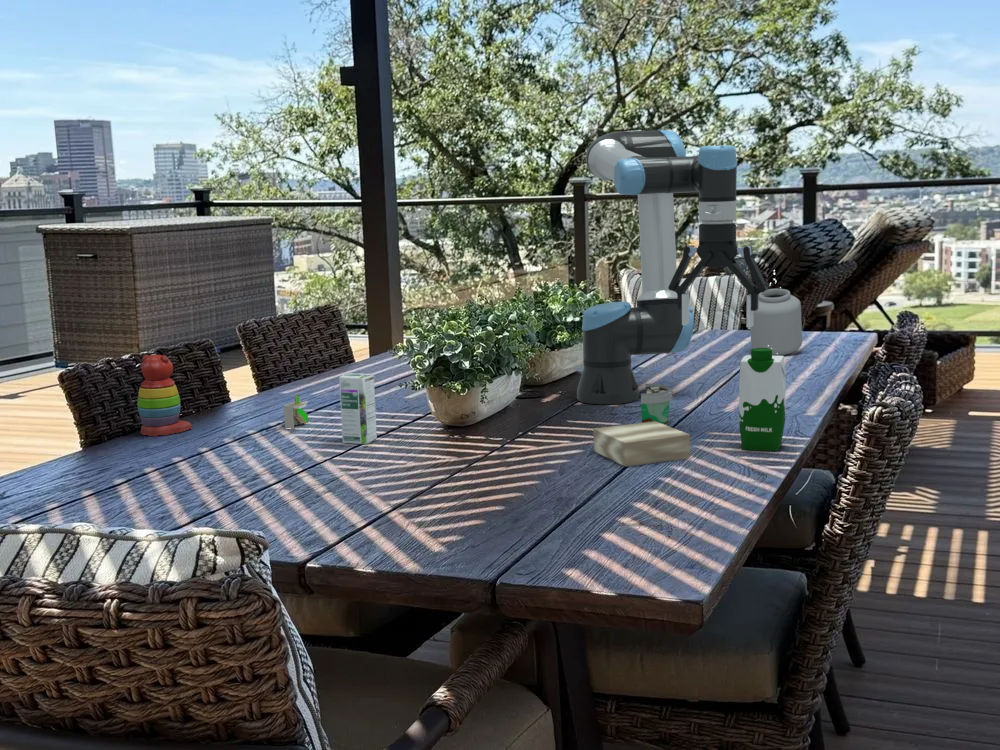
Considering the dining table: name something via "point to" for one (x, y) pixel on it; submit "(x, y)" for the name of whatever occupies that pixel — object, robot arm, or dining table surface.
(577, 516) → the dining table surface
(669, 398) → the food container
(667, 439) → the birch riser block
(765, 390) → the milk carton
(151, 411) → the stacking bear
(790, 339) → the jar
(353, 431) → the syrup box
